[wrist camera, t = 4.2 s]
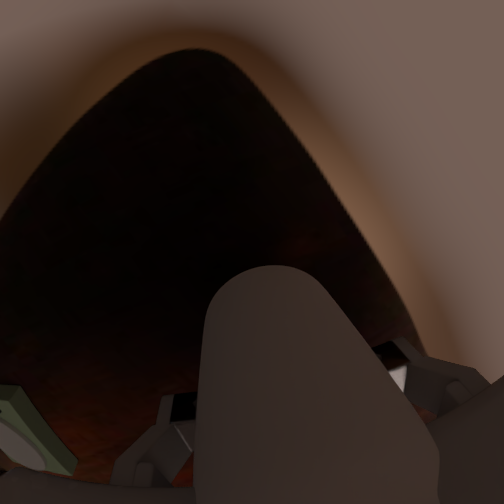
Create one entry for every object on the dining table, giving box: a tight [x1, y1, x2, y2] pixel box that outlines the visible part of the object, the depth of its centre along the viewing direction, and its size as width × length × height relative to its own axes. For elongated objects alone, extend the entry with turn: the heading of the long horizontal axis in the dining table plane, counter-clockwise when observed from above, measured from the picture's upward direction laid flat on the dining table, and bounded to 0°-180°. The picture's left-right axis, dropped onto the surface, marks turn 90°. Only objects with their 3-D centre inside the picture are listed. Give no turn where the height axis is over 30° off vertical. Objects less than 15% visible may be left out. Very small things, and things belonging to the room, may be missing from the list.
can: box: [193, 265, 440, 504], centre depth 9 cm, size 6×6×12 cm
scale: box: [0, 385, 78, 476], centre depth 18 cm, size 11×11×3 cm
